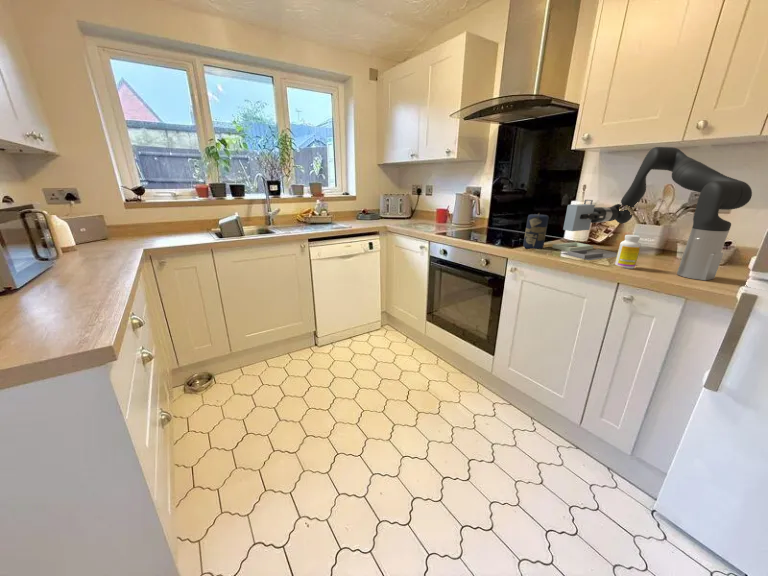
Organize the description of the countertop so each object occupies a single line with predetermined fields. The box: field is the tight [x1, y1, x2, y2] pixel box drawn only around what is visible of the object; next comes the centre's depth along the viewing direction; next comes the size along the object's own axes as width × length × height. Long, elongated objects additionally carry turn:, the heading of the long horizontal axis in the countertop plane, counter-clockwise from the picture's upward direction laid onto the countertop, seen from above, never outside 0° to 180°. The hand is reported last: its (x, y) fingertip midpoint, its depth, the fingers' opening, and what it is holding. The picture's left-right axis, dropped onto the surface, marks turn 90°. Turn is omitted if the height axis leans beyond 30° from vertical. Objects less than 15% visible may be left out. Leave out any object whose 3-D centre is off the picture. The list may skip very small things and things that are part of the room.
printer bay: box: [560, 248, 618, 261], centre depth 144 cm, size 14×27×2 cm, turn 112°
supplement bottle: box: [614, 234, 642, 270], centre depth 124 cm, size 7×7×13 cm
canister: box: [522, 212, 550, 250], centre depth 157 cm, size 10×10×18 cm
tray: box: [552, 241, 594, 252], centre depth 156 cm, size 10×17×2 cm, turn 112°
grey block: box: [562, 199, 596, 232], centre depth 151 cm, size 5×12×14 cm, turn 112°
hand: (575, 216), depth 150 cm, fingers closed on grey block, 5 cm apart
